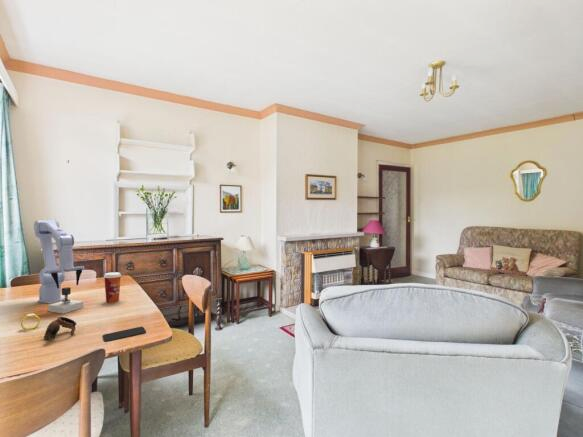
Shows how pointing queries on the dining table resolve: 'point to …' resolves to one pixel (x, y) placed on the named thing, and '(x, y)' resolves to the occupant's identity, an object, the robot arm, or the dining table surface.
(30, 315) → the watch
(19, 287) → the dining table surface
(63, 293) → the plunger
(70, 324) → the brown curved piece
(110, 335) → the phone
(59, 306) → the block
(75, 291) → the dining table surface
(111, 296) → the coffee cup
